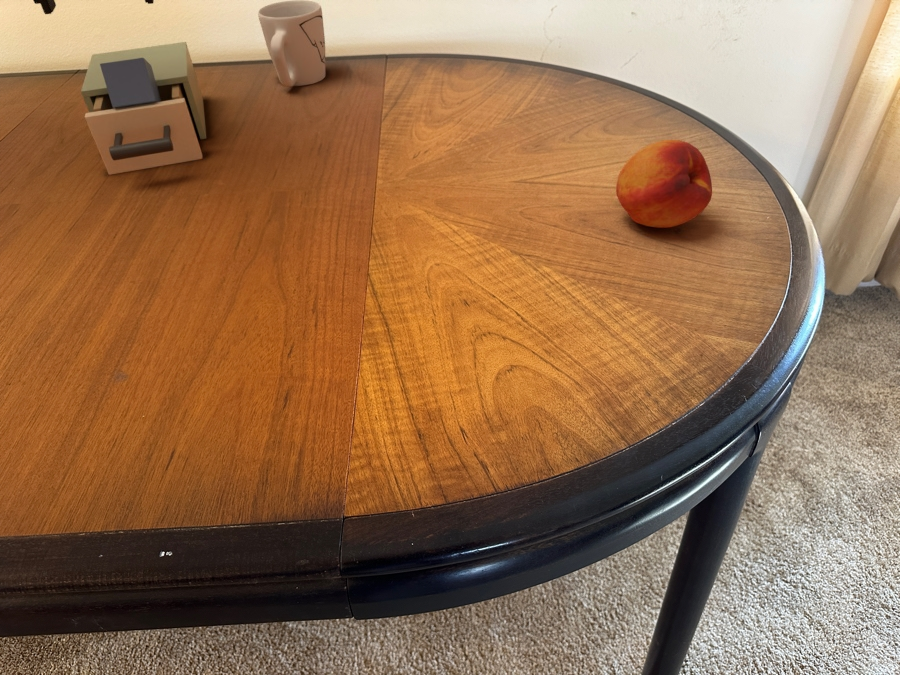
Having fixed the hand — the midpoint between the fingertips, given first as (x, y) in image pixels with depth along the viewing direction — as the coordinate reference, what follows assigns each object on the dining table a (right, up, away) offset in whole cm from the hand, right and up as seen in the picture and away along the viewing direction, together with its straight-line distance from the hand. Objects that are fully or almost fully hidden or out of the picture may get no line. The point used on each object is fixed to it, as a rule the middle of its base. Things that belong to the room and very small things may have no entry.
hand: (101, 5), depth 67 cm
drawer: (+2, -13, +9) cm, 16 cm away
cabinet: (-1, -8, +16) cm, 18 cm away
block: (+1, -6, +6) cm, 9 cm away
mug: (+15, +1, +26) cm, 30 cm away
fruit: (+56, -24, -5) cm, 61 cm away
